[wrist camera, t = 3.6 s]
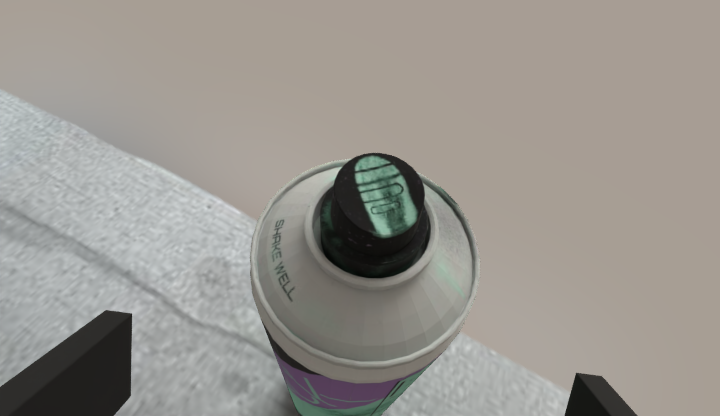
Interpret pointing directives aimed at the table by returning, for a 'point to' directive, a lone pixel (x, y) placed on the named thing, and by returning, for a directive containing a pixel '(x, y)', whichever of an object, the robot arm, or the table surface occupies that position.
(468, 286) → the spray can
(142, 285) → the table surface
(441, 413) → the table surface
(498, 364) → the table surface
